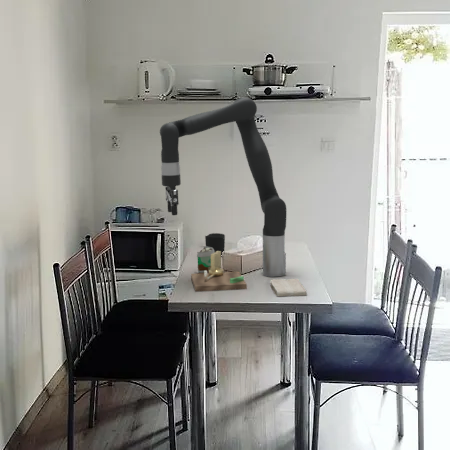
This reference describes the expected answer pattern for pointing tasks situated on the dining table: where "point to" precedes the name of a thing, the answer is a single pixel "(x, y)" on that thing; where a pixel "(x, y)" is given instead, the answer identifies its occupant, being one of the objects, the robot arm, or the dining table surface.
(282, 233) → the robot arm
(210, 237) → the pen holder
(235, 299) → the dining table surface
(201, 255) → the food container
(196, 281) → the dial board
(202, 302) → the dining table surface
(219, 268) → the tan bar with dome
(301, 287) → the washcloth
